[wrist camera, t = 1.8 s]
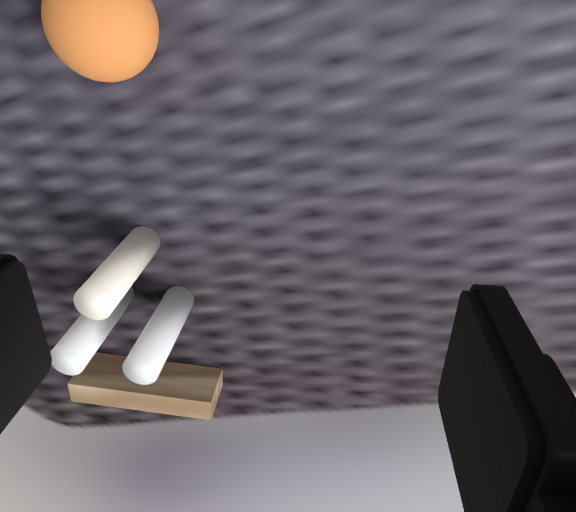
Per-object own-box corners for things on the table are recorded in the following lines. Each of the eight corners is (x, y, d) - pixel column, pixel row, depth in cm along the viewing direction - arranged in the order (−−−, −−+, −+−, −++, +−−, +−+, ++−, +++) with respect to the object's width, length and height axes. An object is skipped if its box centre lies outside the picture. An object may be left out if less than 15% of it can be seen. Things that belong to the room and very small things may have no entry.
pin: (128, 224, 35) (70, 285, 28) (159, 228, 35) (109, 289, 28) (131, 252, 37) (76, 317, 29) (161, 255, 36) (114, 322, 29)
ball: (69, -41, 27) (3, -50, 22) (170, -33, 27) (128, -40, 22) (84, 69, 30) (29, 85, 25) (175, 78, 30) (139, 95, 25)
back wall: (90, 351, 42) (67, 383, 39) (222, 368, 41) (211, 402, 38) (93, 368, 43) (71, 401, 40) (222, 385, 42) (211, 420, 39)
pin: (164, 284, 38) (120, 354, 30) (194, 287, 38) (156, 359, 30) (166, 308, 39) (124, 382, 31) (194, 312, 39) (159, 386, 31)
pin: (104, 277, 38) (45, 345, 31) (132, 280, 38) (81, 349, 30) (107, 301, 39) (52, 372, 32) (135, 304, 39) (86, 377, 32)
